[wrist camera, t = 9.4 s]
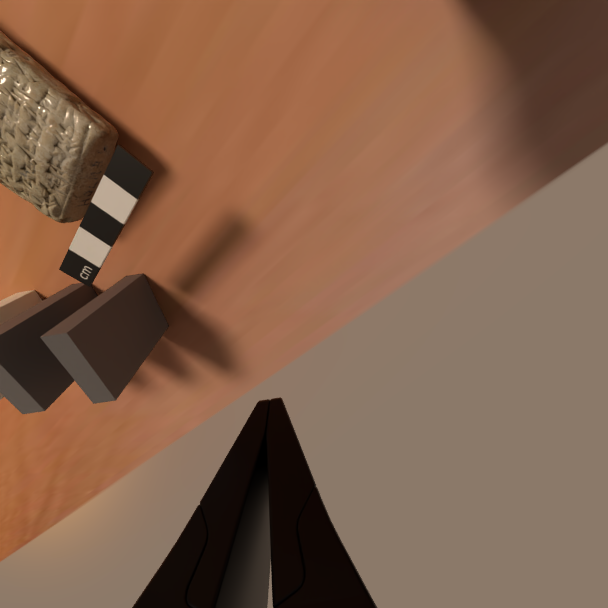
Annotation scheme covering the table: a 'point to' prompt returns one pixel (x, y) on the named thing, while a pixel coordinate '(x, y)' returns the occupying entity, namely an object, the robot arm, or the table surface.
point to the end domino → (17, 306)
